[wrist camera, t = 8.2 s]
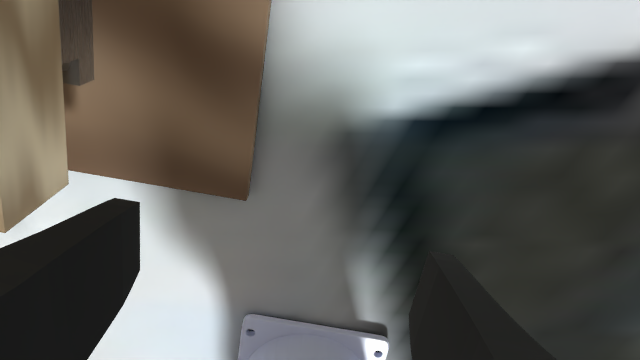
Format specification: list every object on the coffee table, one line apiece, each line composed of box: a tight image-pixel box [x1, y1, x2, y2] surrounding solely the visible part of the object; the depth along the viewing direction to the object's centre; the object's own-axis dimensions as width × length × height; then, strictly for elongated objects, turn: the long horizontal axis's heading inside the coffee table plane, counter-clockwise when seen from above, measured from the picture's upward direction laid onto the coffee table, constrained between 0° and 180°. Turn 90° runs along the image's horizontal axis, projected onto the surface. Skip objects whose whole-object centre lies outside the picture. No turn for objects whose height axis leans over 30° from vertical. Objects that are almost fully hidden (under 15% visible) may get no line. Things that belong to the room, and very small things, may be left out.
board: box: [63, 0, 271, 201], centre depth 20 cm, size 14×11×1 cm
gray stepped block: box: [58, 0, 94, 86], centre depth 18 cm, size 5×4×2 cm
